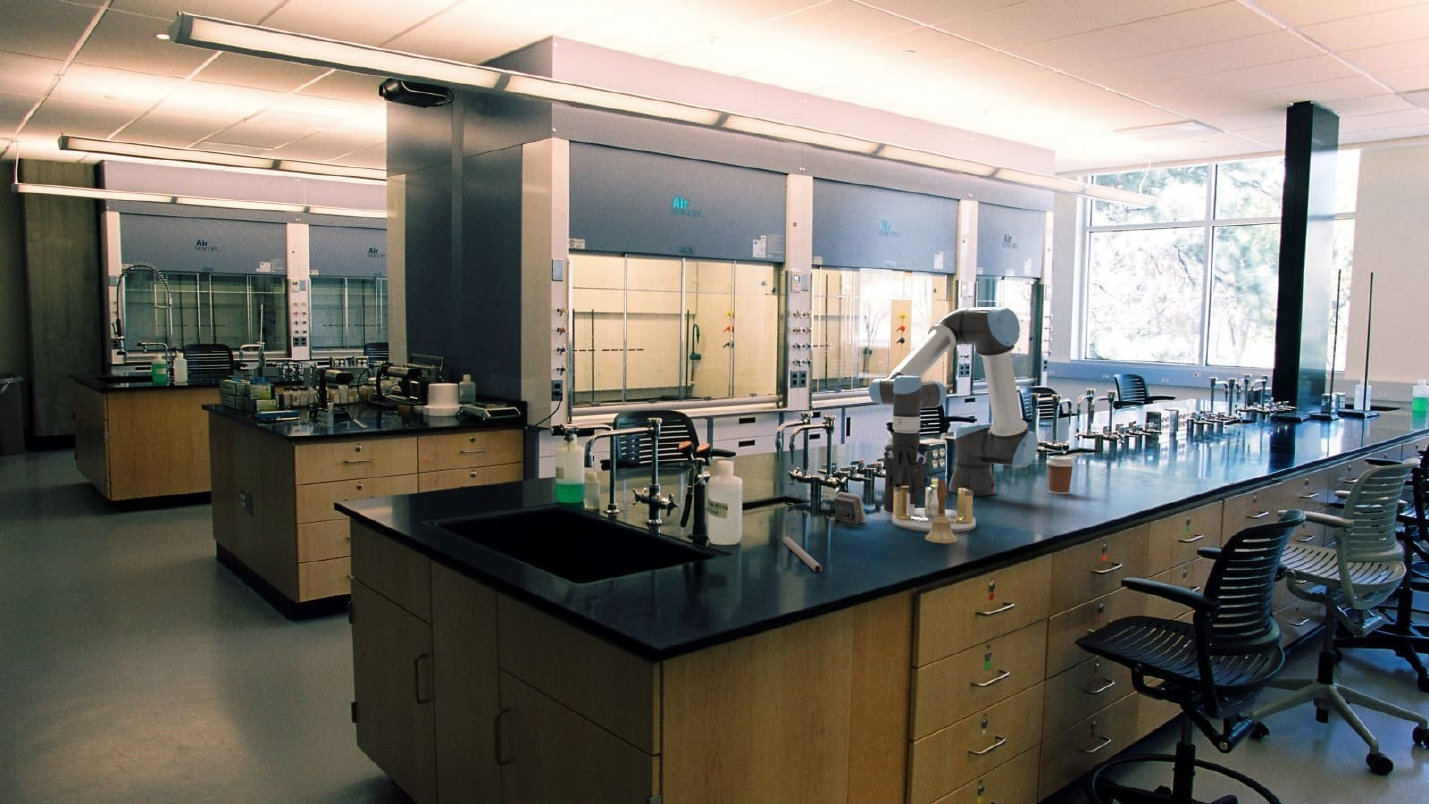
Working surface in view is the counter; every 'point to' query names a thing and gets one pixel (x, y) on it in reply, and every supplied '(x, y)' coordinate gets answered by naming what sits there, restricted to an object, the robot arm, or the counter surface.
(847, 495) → the electrical switch
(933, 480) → the brass knob
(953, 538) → the hand bell
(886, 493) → the container
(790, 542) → the grey tube
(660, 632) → the counter surface
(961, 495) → the tan upright block
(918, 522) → the levelling plate
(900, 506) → the tan upright block
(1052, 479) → the coffee cup
